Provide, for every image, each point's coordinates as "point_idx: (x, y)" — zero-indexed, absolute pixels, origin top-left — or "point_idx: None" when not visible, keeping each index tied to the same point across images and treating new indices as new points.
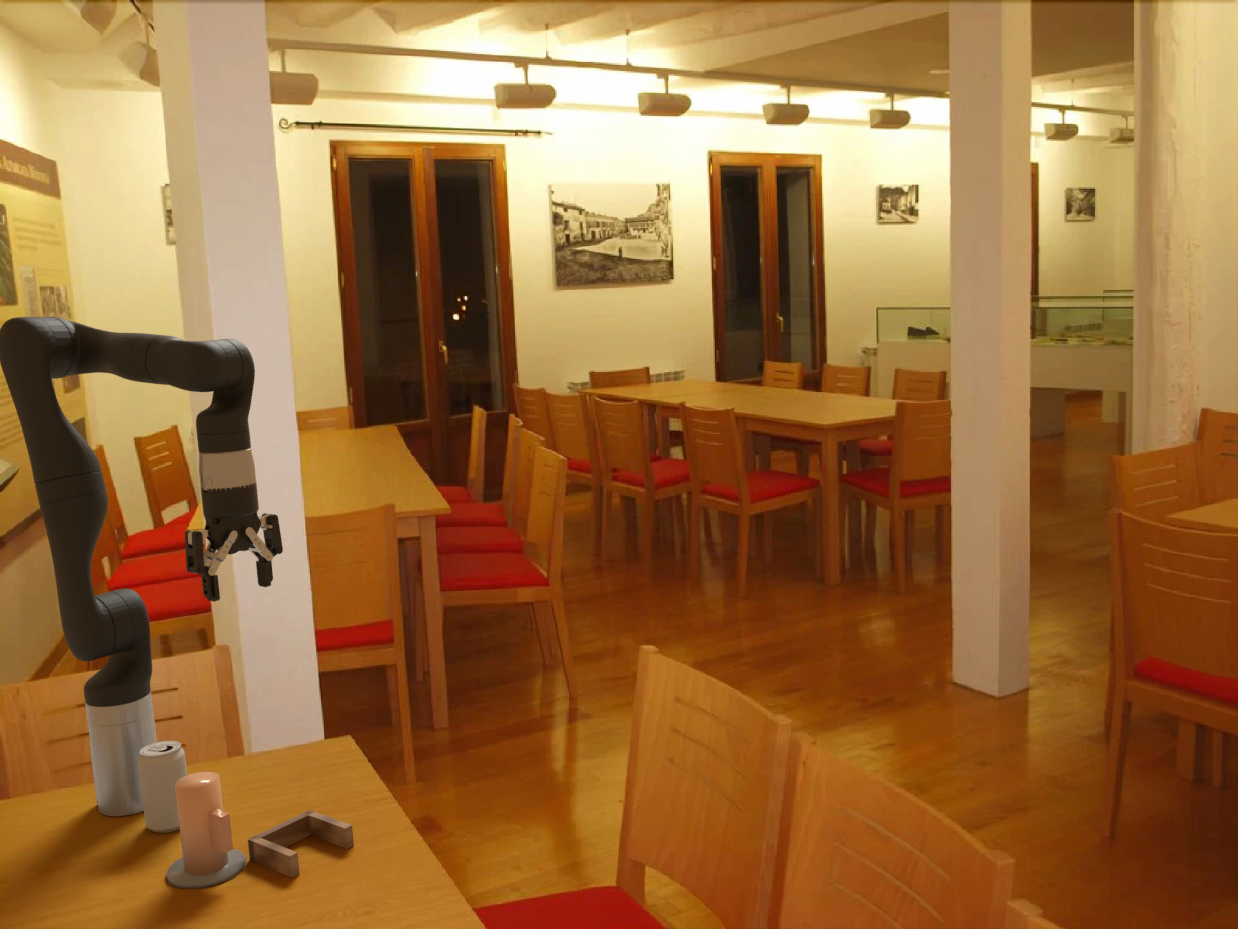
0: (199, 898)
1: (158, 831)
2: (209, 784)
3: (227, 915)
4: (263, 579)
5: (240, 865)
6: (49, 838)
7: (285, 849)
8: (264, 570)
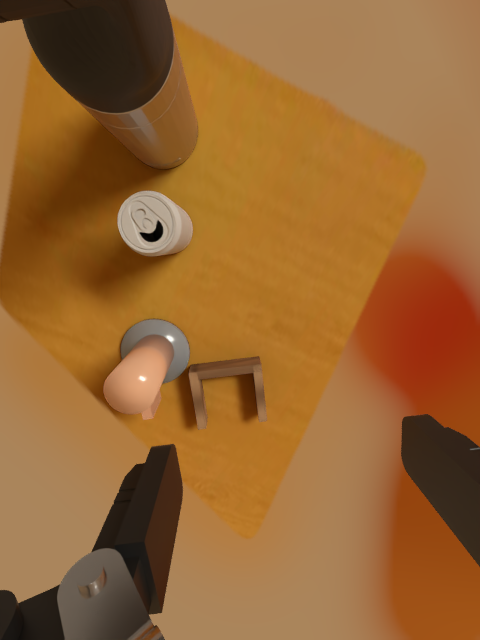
0: None
1: (153, 239)
2: (135, 412)
3: (136, 429)
4: (421, 469)
5: (176, 376)
6: (60, 144)
7: (201, 416)
8: (451, 521)
